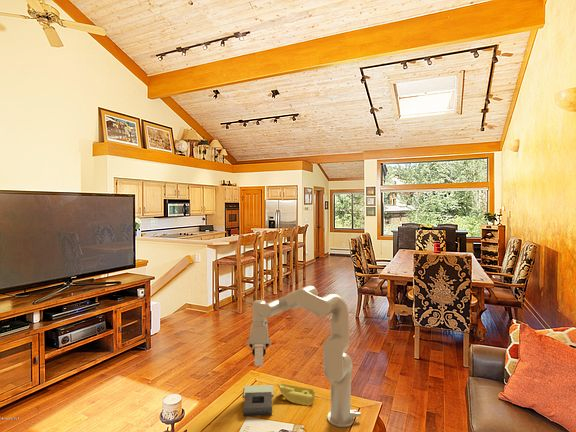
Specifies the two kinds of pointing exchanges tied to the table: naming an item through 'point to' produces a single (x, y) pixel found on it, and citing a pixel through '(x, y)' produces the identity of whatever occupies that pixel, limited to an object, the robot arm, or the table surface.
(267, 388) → the sage mat
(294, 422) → the table surface
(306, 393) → the plastic component
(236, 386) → the table surface
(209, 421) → the table surface
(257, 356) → the beige peg
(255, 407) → the socket block
